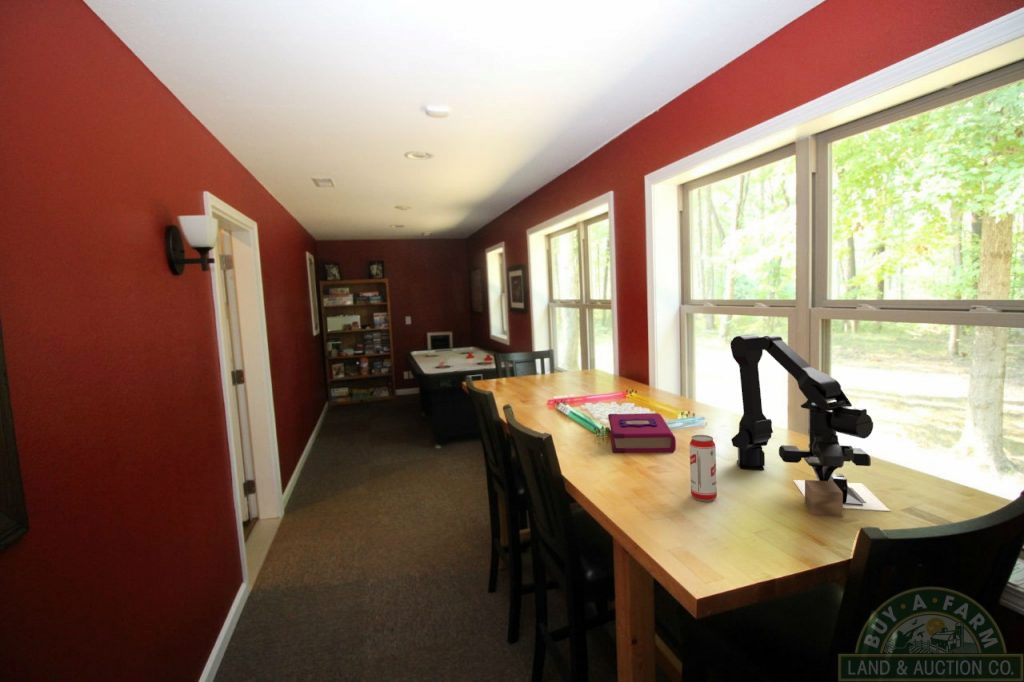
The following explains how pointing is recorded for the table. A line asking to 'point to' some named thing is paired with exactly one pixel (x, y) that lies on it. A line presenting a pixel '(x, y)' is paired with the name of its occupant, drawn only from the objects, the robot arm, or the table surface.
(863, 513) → the table surface
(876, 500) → the letter tile
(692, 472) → the beer can
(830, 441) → the robot arm
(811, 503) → the cube
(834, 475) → the black stand
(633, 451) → the book
